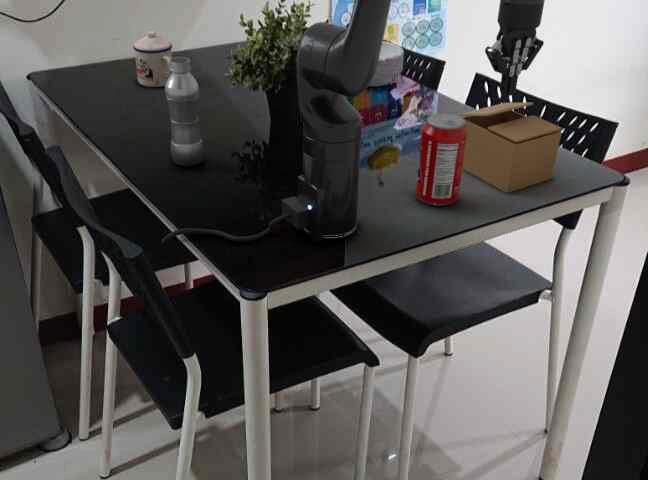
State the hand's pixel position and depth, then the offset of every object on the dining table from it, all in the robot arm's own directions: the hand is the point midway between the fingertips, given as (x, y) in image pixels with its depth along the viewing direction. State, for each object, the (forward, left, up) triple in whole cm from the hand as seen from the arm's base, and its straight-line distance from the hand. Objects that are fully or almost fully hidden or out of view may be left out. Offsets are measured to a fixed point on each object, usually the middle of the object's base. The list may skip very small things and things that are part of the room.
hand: (506, 94), depth 146 cm
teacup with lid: (-37, +77, -15) cm, 87 cm away
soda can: (-19, -5, -15) cm, 25 cm away
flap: (0, +2, -4) cm, 4 cm away
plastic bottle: (-51, +32, -15) cm, 62 cm away
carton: (0, -2, -15) cm, 15 cm away
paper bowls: (+9, +53, -15) cm, 56 cm away
